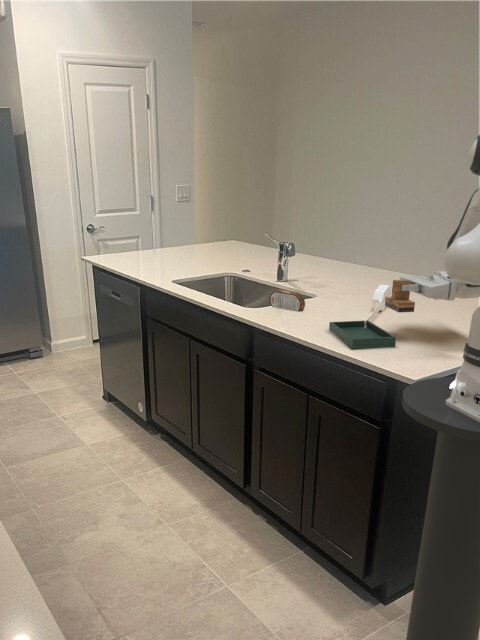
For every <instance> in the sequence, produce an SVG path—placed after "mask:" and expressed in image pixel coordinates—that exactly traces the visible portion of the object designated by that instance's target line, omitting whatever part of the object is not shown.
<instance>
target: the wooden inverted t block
mask: <svg viewBox="0 0 480 640" xmlns="http://www.w3.org/2000/svg"><path fill="white" fill-rule="evenodd" d="M401 285H411V281H410V280H400V279H393V280H392V287H391V295H390V297H386V299H385V306H386V307H385V308H388V309H391V310H392V311H394V312H396V313H414V312H415V307H416V306H415V305H416V301H413V300H410V295H411V291H402V290H400V288H401Z"/></svg>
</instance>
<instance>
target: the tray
mask: <svg viewBox="0 0 480 640" xmlns="http://www.w3.org/2000/svg"><path fill="white" fill-rule="evenodd" d="M328 323H329V325H328V330H329V331H331V332H332V334H334V335H335V336H336V337H337V338H339V339H340V340H341V341H342V342H343V343H344V344H346V345H347V346H348V347H349V348H351V349H371V348H372V349H373V348H395V347H396V341H397V337H396V336H395V335H393V334H392V333H390V332H388V331H387V330H385V329H383V328H381V327H380V326H379V325H377V324H375V323H374V322H372V321H371V322H370V321H367V327H366V328H365V329H364V323H365V320H347V321H329V322H328Z"/></svg>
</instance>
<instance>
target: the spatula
mask: <svg viewBox="0 0 480 640" xmlns="http://www.w3.org/2000/svg"><path fill="white" fill-rule="evenodd" d="M391 296H392V287H391V285H389V284H379V285H378V287H377V288H376V289H375V290H374V293H373V296H372V301H371V302H372V303H371V308H372V312H371V313H370V314H369V315H368V317H367V318H366V319H364V321H365V323H364V329H365V328H366V327H367V321H370V322H371V323H372V321H373V320H374V318H376V315H377V314H378V313H379V312H383V311H384V310H385V309H386V308H387V307H386V306H385V299H386V297H391Z"/></svg>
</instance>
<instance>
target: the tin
mask: <svg viewBox="0 0 480 640" xmlns="http://www.w3.org/2000/svg"><path fill="white" fill-rule="evenodd" d="M269 304H270V306H271V307H273V308H279V309H284V310H290V311H294V312H295V311H296V312H302V311H304V310H305V308H306V300H305V297H304V296H303V295H302V294H301V293H300V292H298V291H292V290H288V289H282V288H278V289H276V290H274V291H273V292H271V294H270V295H269Z"/></svg>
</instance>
